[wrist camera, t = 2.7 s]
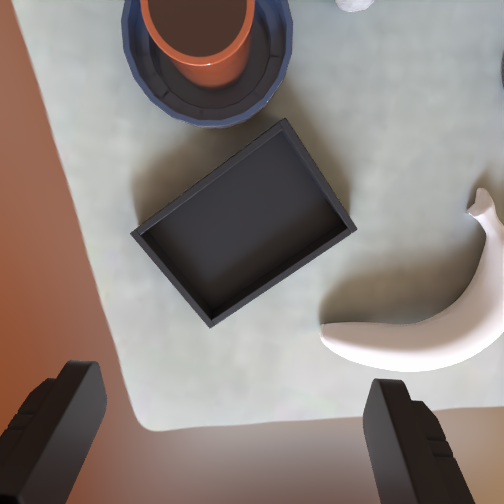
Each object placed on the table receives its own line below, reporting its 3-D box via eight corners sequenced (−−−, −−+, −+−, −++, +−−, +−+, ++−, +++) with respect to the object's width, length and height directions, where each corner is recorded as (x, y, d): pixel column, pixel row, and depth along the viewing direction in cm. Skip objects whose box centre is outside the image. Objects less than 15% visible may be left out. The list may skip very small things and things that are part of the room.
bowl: (227, -73, 26) (225, -110, 22) (313, 70, 29) (324, 59, 25) (107, 31, 27) (85, 12, 24) (199, 157, 30) (193, 158, 26)
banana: (325, 370, 36) (295, 231, 32) (509, 323, 36) (503, 178, 32) (340, 403, 32) (308, 245, 28) (551, 349, 32) (550, 183, 28)
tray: (282, 119, 30) (285, 117, 27) (349, 223, 32) (358, 229, 30) (138, 226, 32) (129, 233, 29) (212, 316, 34) (209, 329, 32)
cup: (219, -13, 26) (208, -96, 17) (265, 59, 28) (277, 18, 19) (157, 39, 27) (115, -15, 18) (204, 106, 29) (188, 89, 20)
